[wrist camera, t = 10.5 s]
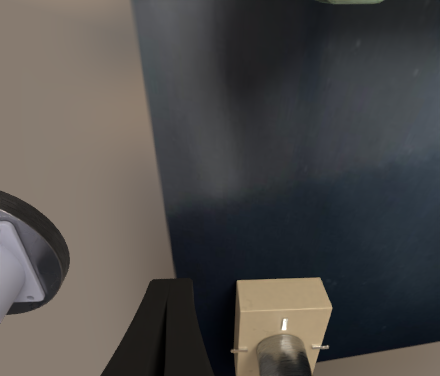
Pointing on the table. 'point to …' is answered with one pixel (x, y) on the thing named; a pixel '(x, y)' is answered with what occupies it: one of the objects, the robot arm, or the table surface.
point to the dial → (283, 357)
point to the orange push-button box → (350, 1)
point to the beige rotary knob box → (278, 317)
